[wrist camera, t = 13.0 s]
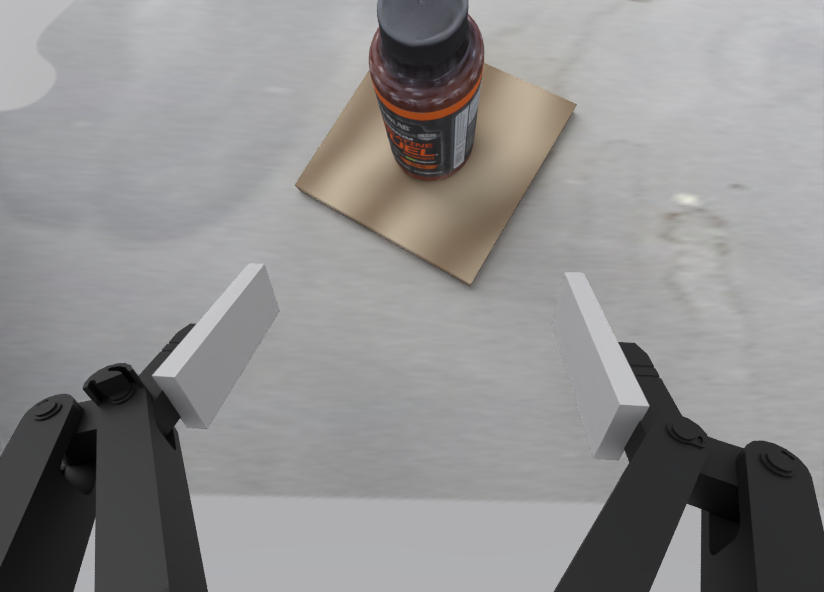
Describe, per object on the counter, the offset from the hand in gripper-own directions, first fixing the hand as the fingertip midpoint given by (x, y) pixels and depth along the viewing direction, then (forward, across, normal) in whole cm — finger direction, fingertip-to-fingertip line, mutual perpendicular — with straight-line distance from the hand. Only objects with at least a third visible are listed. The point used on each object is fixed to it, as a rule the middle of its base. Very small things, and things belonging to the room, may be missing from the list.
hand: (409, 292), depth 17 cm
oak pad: (+15, 0, +2) cm, 16 cm away
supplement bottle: (+15, 0, +2) cm, 15 cm away
